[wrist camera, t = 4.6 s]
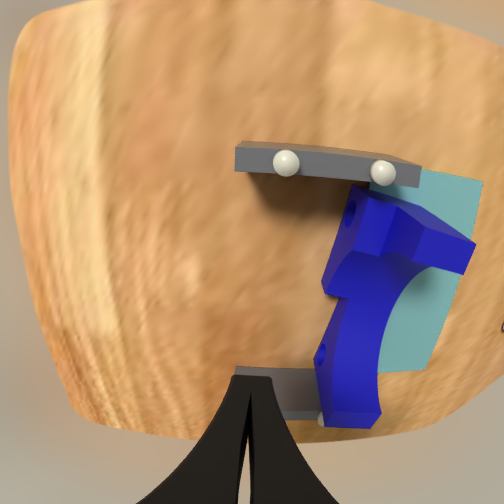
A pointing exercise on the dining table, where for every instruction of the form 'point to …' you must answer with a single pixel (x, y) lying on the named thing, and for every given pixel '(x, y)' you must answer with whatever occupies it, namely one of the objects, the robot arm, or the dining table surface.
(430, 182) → the mat
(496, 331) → the dining table surface
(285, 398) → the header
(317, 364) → the blue bent block
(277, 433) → the robot arm
